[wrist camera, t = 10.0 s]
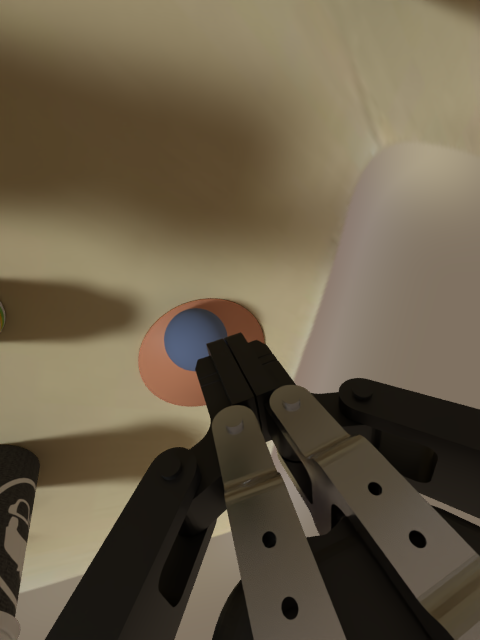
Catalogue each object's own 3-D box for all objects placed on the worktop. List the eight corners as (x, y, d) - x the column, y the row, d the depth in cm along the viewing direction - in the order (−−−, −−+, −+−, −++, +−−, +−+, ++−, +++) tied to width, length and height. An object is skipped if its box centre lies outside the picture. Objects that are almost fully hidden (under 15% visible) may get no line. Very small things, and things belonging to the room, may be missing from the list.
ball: (157, 318, 22) (161, 308, 28) (168, 386, 23) (169, 364, 29) (228, 308, 23) (219, 301, 29) (236, 374, 24) (225, 355, 30)
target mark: (161, 420, 33) (161, 422, 32) (117, 323, 26) (117, 324, 26) (269, 381, 35) (270, 382, 35) (255, 282, 28) (255, 282, 28)
